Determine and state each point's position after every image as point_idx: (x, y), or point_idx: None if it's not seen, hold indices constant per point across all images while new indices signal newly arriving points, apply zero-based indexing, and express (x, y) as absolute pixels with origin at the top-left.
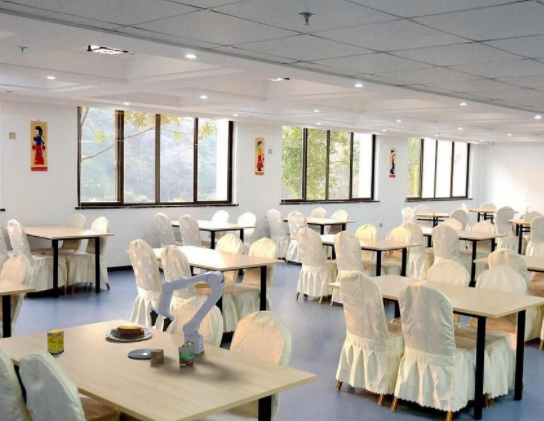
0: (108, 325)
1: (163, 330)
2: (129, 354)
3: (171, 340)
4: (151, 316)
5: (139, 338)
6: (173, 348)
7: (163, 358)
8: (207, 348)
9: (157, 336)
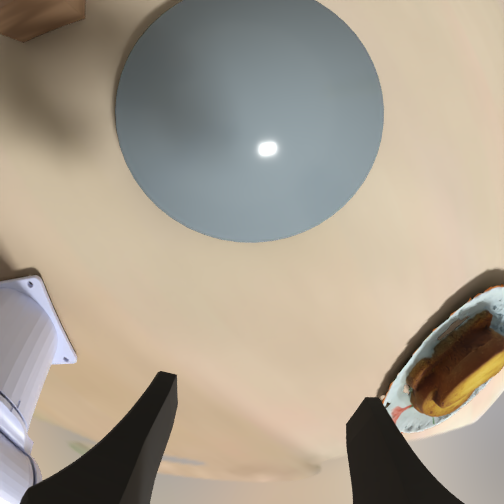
0: (498, 385)
1: (152, 382)
2: (350, 37)
3: (271, 423)
4: (435, 501)
5: (420, 360)
6: (159, 338)
7: (11, 34)
8: None
9: None
